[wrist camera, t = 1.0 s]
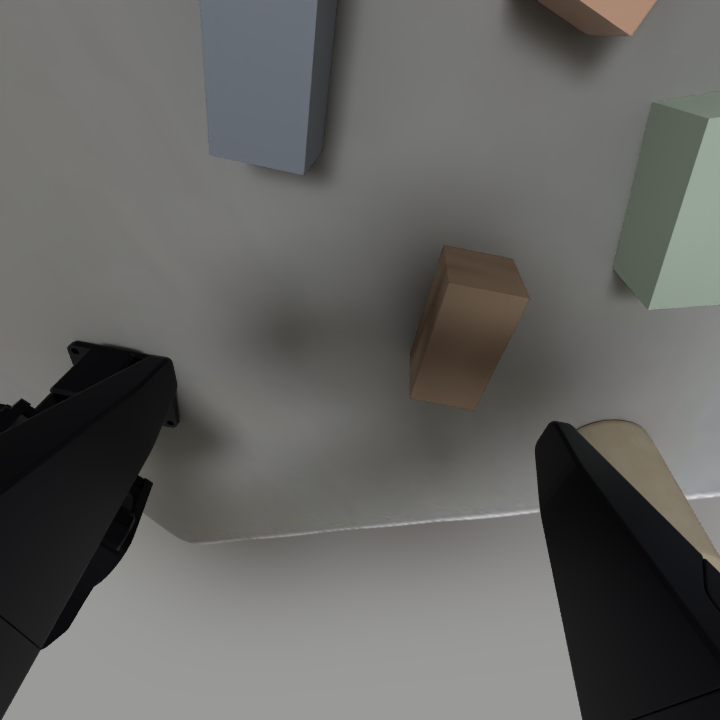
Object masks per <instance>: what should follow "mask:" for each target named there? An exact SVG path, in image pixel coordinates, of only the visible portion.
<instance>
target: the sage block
mask: <svg viewBox="0 0 720 720" xmlns="http://www.w3.org/2000/svg"><path fill="white" fill-rule="evenodd" d="M613 269H614V270H615V271H616V272H617V274H618V275H619V276H620V277H621V278H622V280H623V281H624V282H625V283H626V284H627V286H628V287H629V288H630V289H631V290H632V292H633V293H634V294H635V295H636V296H637V297H638V299H639V300H640V301H641V302H642V303H643V305H644V306H645V307H646V308H647V309H648V310H656V309H668V308H681V307H694V306H707V305H719V304H720V91H716V92H709V93H703V94H697V95H691V96H685V97H678V98H672V99H666V100H660V101H654V102H652V106H651V110H650V114H649V118H648V122H647V127H646V131H645V135H644V139H643V143H642V148H641V152H640V156H639V160H638V164H637V169H636V173H635V177H634V181H633V185H632V190H631V194H630V198H629V202H628V206H627V211H626V215H625V219H624V223H623V227H622V232H621V236H620V240H619V244H618V248H617V253H616V257H615V261H614V265H613Z"/></svg>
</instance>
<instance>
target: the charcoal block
mask: <svg viewBox="0 0 720 720" xmlns="http://www.w3.org/2000/svg"><path fill="white" fill-rule="evenodd" d="M337 2H338V0H200V11H201V27H202V43H203V59H204V75H205V91H206V107H207V123H208V139H209V155H210V156H215V157H220V158H224V159H229V160H234V161H239V162H243V163H248V164H253V165H257V166H262V167H267V168H271V169H276V170H281V171H285V172H290V173H295V174H299V175H305V173H306V172H307V171H308V169H309V168H310V167H311V165H312V164H313V163H314V161H315V160H316V159H317V157H318V156H319V155H320V153H321V152H322V149H323V139H324V129H325V119H326V110H327V100H328V90H329V80H330V70H331V61H332V51H333V41H334V31H335V22H336V12H337Z"/></svg>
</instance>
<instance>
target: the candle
mask: <svg viewBox="0 0 720 720" xmlns="http://www.w3.org/2000/svg"><path fill="white" fill-rule="evenodd" d="M577 431H578V432H579V433H580V434H581V435H582V436H583V437H584V438H585V439H586V440H587V441H588V442H589V443H590V444H591V445H592V446H593V447H594V448H595V449H596V450H597V451H598V452H599V453H600V454H601V455H602V456H603V457H604V458H605V459H606V460H607V461H608V462H609V463H610V464H611V465H612V466H613V467H614V468H615V469H616V470H617V471H618V472H619V473H620V474H621V475H622V476H623V477H624V478H625V479H626V480H627V481H628V482H629V483H630V484H631V485H632V486H633V487H634V488H635V489H636V490H637V491H638V492H639V493H640V494H641V495H642V496H643V497H644V498H645V499H646V500H647V501H648V502H649V503H650V504H651V505H652V506H653V507H654V508H655V509H656V510H657V511H658V512H660V513H661V514H662V515H663V516H664V517H665V518H666V519H667V520H668V521H669V522H670V523H671V524H672V525H673V526H674V527H675V528H676V529H677V530H678V531H679V532H680V533H681V534H682V535H683V536H684V537H685V538H686V539H687V540H688V541H689V542H690V543H691V544H692V545H693V546H694V547H695V548H696V549H697V550H698V551H699V552H700V553H701V554H702V556H703V559H707V560H708V561H709V562H710V563H711V564H712V565H713V566H714V567H715V568H716V569H717V570H718V571H719V572H720V556H719V554H718V553H717V551H716V549H715V548H714V546H713V544H712V542H711V541H710V539H709V537H708V535H707V534H706V532H705V530H704V529H703V527H702V525H701V523H700V522H699V520H698V518H697V517H696V515H695V514H694V511H693V510H692V508H691V506H690V504H689V503H688V501H687V499H686V498H685V496H684V494H683V492H682V491H681V489H680V487H679V486H678V484H677V482H676V480H675V479H674V477H673V475H672V474H671V472H670V470H669V468H668V467H667V465H666V463H665V461H664V460H663V458H662V456H661V455H660V453H659V451H658V449H657V448H656V446H655V444H654V443H653V441H652V439H651V438H650V436H649V435H648V434H647V432H646V431H645V430H644V429H643V428H642V427H640V426H639V425H637V424H634V423H632V422H628V421H622V420H607V421H600V422H596V423H592V424H589V425H586V426H584V427H582V428H580V429H578V430H577Z"/></svg>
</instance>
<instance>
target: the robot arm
mask: <svg viewBox="0 0 720 720" xmlns="http://www.w3.org/2000/svg"><path fill="white" fill-rule="evenodd" d="M67 349H68V352H69V355H70V358H71V360H72V363H73V367H72V368H71V369H70V370H69V371H68V372H67V373H66V374H65V375H64V376H63V377H62V378H61V379H60V380H59V381H58V382H57V383H56V384H55V385H54V386H53V387H51V389H50V392H51V393H50V394H49V395H48V396H47V397H46V398H45V399H44V400H43V401H42V402H41V403H40V404H39V405H38V406H37V407H36V408H35V409H34V408H33V407H31V406H30V405H31V404H30V403H28V402H27V401H25V400H24V399H22V398H21V399H20V400H19V401H18V402H16V403H15V404H14V405H12V406H10V405H8V404H7V405H4V404H0V720H2V718H3V716H4V714H5V712H6V711H7V709H8V707H9V705H10V704H11V702H12V700H13V698H14V696H15V694H16V693H17V691H18V689H19V688H20V686H21V684H22V682H23V680H24V678H25V677H26V675H27V673H28V671H29V670H30V668H31V666H32V664H33V662H34V661H35V659H36V657H37V655H38V654H39V652H40V650H41V649H44V648H46V647H47V646H48V645H50V644H51V643H52V642H53V641H54V640H56V639H57V638H58V637H59V636H61V635H62V634H63V633H64V632H65V631H67V629H68V628H69V627H70V625H71V623H72V622H73V620H74V618H75V617H76V615H77V613H78V611H79V610H80V608H81V607H82V605H83V603H84V602H85V600H86V598H87V597H88V595H89V594H90V592H91V590H92V589H93V587H94V586H96V585H97V584H98V583H100V582H101V581H102V580H103V579H104V578H106V577H107V576H108V575H109V574H110V572H111V571H112V570H113V569H114V568H115V567H116V565H117V564H118V563H119V561H120V560H121V559H122V557H123V556H124V554H125V553H126V551H127V549H128V547H129V546H130V544H131V542H132V540H133V537H134V534H135V532H136V529H137V526H138V524H139V521H140V518H141V516H142V513H143V510H144V507H145V505H146V502H147V499H148V496H149V493H150V491H151V488H152V485H153V482H151V481H150V480H148V479H146V478H145V479H143V478H142V477H140V476H139V475H138V474H139V472H140V470H141V469H142V467H143V465H144V463H145V461H146V460H147V458H148V456H149V454H150V452H151V450H152V448H153V446H154V444H155V442H156V439H157V437H158V435H159V432H160V430H161V427H162V426H167V427H173V428H174V427H176V426H177V425H178V423H179V415H178V409H177V403H176V397H175V394H176V390H177V380H176V376H175V371H174V366H173V362H172V360H171V359H170V358H168V357H163V356H156V355H152V356H147V355H142V354H137V353H132V352H127V351H122V350H116V349H111V348H106V347H101V346H96V345H91V344H86V343H81V342H72V343H71V344H70V345H69V346H68V347H67ZM535 459H536V471H537V482H538V494H539V505H540V513H541V518H542V524H543V528H544V533H545V538H546V543H547V548H548V553H549V558H550V563H551V568H552V572H553V578H554V583H555V587H556V592H557V597H558V602H559V606H560V612H561V617H562V622H563V626H564V632H565V637H566V642H567V646H568V651H569V656H570V661H571V666H572V671H573V676H574V681H575V686H576V691H577V696H578V701H579V706H580V711H581V716H582V720H720V572H719V571H718V570H717V569H716V568H715V567H714V566H713V565H712V564H711V563H710V562H709V561H708V560H707V559H703V556H702V554H701V553H700V552H699V551H698V550H697V549H696V548H695V547H694V546H693V545H692V544H691V543H690V542H689V541H688V540H687V539H686V538H685V537H684V536H683V535H682V534H681V533H680V532H679V531H678V530H677V529H676V528H675V527H674V526H673V525H672V524H671V523H670V522H669V521H668V520H667V519H666V518H665V517H664V516H663V515H662V514H661V513H660V512H658V511H657V510H656V509H655V508H654V507H653V506H652V505H651V504H650V503H649V502H648V501H647V500H646V499H645V498H644V497H643V496H642V495H641V494H640V493H639V492H638V491H637V490H636V489H635V488H634V487H633V486H632V485H631V484H630V483H629V482H628V481H627V480H626V479H625V478H624V477H623V476H622V475H621V474H620V473H619V472H618V471H617V470H616V469H615V468H614V467H613V466H612V465H611V464H610V463H609V462H608V461H607V460H606V459H605V458H604V457H603V456H602V455H601V454H600V453H599V452H598V451H597V450H596V449H595V448H594V447H593V446H592V445H591V444H590V443H589V442H588V441H587V440H586V439H585V438H584V437H583V436H582V435H581V434H580V433H579V432H578V431H577V430H576V429H575V428H574V427H573V426H572V425H571V424H568V423H564V422H558V421H552V422H550V423H549V424H548V426H547V427H546V429H545V430H544V432H543V433H542V435H541V436H540V438H539V439H538V441H537V443H536V446H535Z"/></svg>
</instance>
